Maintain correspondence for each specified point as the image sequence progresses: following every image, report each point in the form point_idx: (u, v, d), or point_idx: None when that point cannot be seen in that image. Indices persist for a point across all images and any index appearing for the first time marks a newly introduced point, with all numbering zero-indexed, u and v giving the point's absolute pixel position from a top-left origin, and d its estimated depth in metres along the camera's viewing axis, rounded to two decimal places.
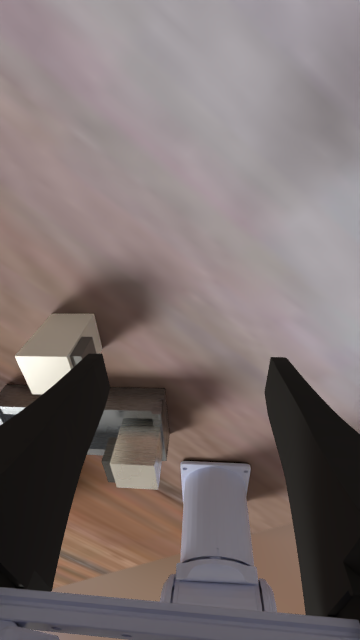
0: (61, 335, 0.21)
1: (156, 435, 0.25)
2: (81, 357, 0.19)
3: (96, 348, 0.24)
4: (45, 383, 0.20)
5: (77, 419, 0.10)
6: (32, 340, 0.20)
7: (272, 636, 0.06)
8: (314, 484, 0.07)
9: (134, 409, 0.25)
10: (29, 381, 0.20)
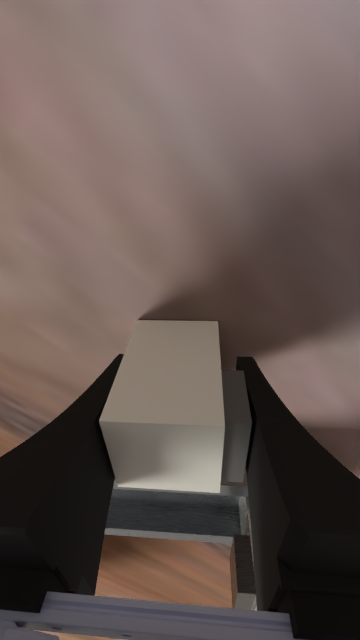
0: (180, 367, 0.10)
1: None
2: (250, 424, 0.08)
3: None
4: (153, 471, 0.09)
5: None
6: (125, 378, 0.10)
7: (272, 636, 0.06)
8: (262, 481, 0.08)
9: None
10: (119, 466, 0.09)
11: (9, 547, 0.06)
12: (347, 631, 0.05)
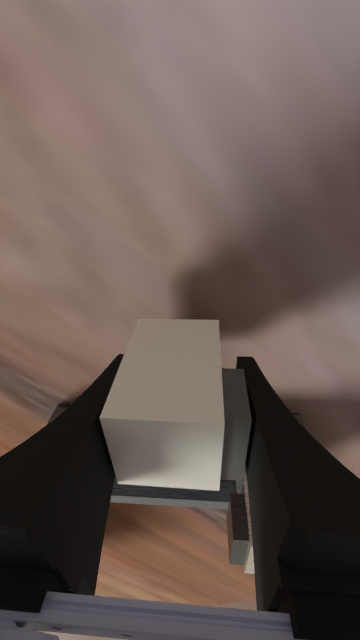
0: (180, 365, 0.10)
1: None
2: (250, 422, 0.08)
3: None
4: (153, 468, 0.09)
5: None
6: (125, 376, 0.10)
7: (272, 636, 0.06)
8: (262, 481, 0.08)
9: None
10: (119, 463, 0.09)
11: (9, 547, 0.06)
12: (347, 631, 0.05)
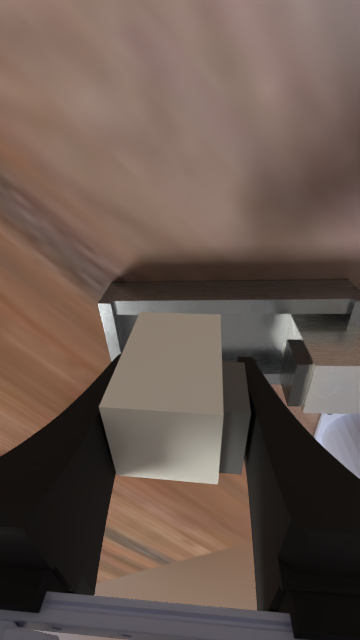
0: (181, 358, 0.10)
1: None
2: (249, 414, 0.08)
3: None
4: (151, 460, 0.09)
5: None
6: (126, 367, 0.10)
7: (272, 636, 0.06)
8: (262, 481, 0.08)
9: (323, 298, 0.17)
10: (118, 453, 0.09)
11: (9, 547, 0.06)
12: (348, 631, 0.05)
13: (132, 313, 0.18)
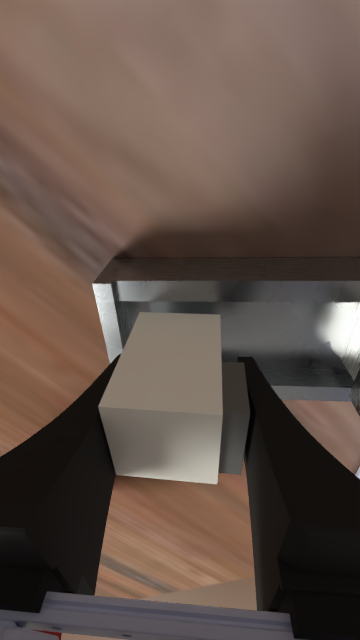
0: (180, 358, 0.10)
1: None
2: (248, 414, 0.08)
3: None
4: (151, 459, 0.09)
5: None
6: (125, 367, 0.10)
7: (272, 636, 0.06)
8: (262, 481, 0.08)
9: None
10: (117, 453, 0.09)
11: (9, 547, 0.06)
12: (347, 631, 0.05)
13: (141, 299, 0.13)
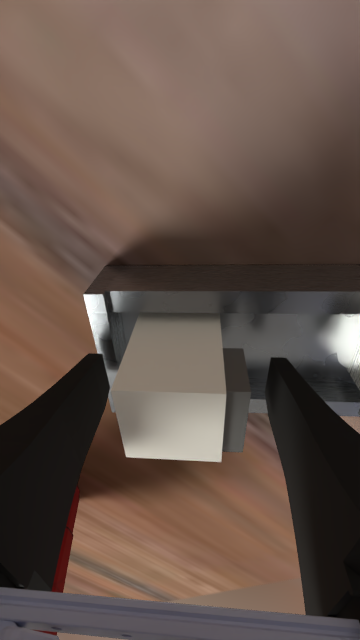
0: (184, 345, 0.11)
1: None
2: (249, 393, 0.09)
3: None
4: (159, 440, 0.10)
5: (77, 419, 0.10)
6: (133, 355, 0.10)
7: (272, 636, 0.06)
8: (314, 484, 0.07)
9: None
10: (128, 435, 0.10)
11: None
12: None
13: (136, 310, 0.12)
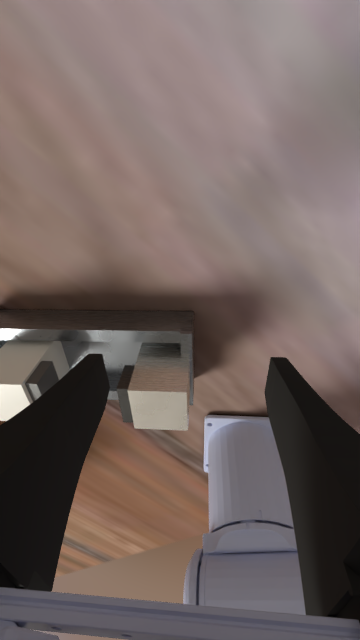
0: (19, 359, 0.20)
1: (185, 362, 0.19)
2: (37, 385, 0.18)
3: (61, 370, 0.23)
4: (1, 410, 0.19)
5: (77, 419, 0.10)
6: None
7: (272, 636, 0.06)
8: (314, 484, 0.07)
9: (157, 330, 0.20)
10: None
11: None
12: None
13: (1, 338, 0.21)
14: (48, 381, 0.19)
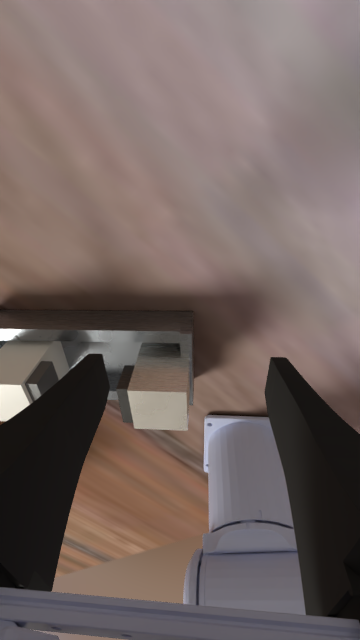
0: (19, 359, 0.20)
1: (185, 362, 0.19)
2: (37, 385, 0.18)
3: (61, 370, 0.23)
4: (1, 410, 0.19)
5: (77, 419, 0.10)
6: None
7: (272, 636, 0.06)
8: (314, 484, 0.07)
9: (157, 330, 0.20)
10: None
11: None
12: None
13: (1, 339, 0.21)
14: (48, 381, 0.19)
